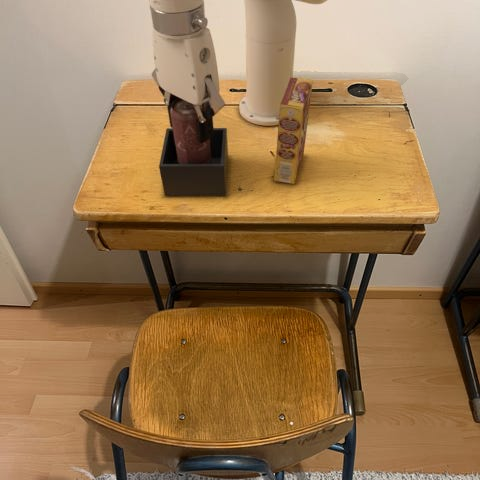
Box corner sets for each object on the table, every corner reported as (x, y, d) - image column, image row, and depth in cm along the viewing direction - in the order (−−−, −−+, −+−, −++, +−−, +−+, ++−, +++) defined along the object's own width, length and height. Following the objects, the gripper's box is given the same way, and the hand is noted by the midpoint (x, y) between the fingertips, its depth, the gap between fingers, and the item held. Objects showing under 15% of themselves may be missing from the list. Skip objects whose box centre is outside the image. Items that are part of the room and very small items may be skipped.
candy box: (296, 185, 86) (303, 107, 73) (273, 182, 87) (277, 104, 74) (305, 156, 91) (313, 78, 78) (283, 153, 91) (288, 75, 79)
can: (220, 173, 87) (215, 102, 76) (194, 189, 85) (185, 119, 73) (199, 159, 90) (190, 89, 78) (173, 175, 87) (161, 104, 76)
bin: (171, 158, 91) (166, 128, 86) (228, 158, 91) (226, 127, 86) (164, 196, 85) (158, 166, 80) (225, 196, 85) (223, 165, 79)
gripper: (241, 24, 64) (243, 141, 78) (156, -8, 70) (173, 105, 85) (203, 44, 60) (213, 162, 75) (118, 9, 67) (142, 123, 82)
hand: (192, 131), depth 80 cm, fingers closed on can, 6 cm apart
